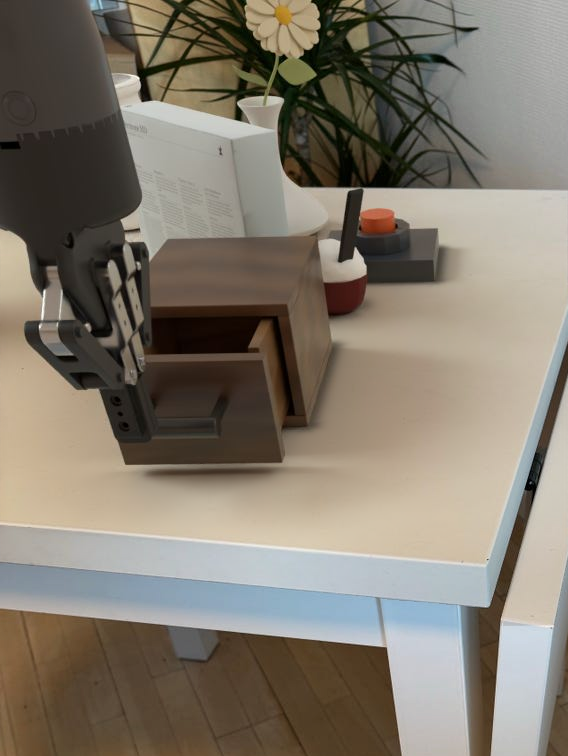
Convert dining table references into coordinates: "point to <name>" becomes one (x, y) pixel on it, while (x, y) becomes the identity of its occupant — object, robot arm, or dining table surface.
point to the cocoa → (344, 262)
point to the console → (397, 253)
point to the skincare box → (203, 175)
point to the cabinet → (253, 297)
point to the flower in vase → (289, 36)
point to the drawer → (214, 392)
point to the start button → (377, 221)
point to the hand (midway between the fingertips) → (138, 436)
